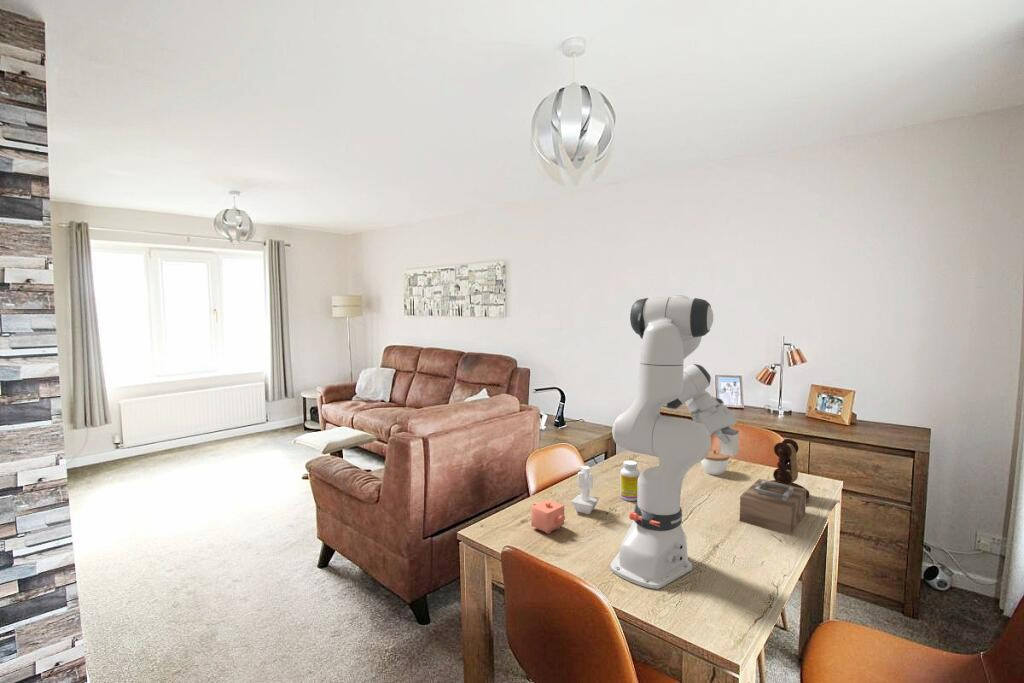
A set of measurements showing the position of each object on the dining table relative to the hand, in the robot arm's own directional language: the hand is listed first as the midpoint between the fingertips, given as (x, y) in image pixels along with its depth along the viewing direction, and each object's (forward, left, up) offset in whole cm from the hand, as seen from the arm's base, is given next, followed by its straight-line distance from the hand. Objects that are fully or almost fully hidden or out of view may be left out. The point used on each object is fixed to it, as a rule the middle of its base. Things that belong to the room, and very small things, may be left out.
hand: (731, 441), depth 156 cm
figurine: (-35, +35, -23) cm, 54 cm away
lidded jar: (+29, +16, -23) cm, 40 cm away
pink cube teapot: (-53, +36, -23) cm, 68 cm away
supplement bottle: (-16, +29, -23) cm, 40 cm away
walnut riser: (+1, -13, -23) cm, 26 cm away
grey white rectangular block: (0, +1, -4) cm, 4 cm away
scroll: (+22, -11, -23) cm, 34 cm away
